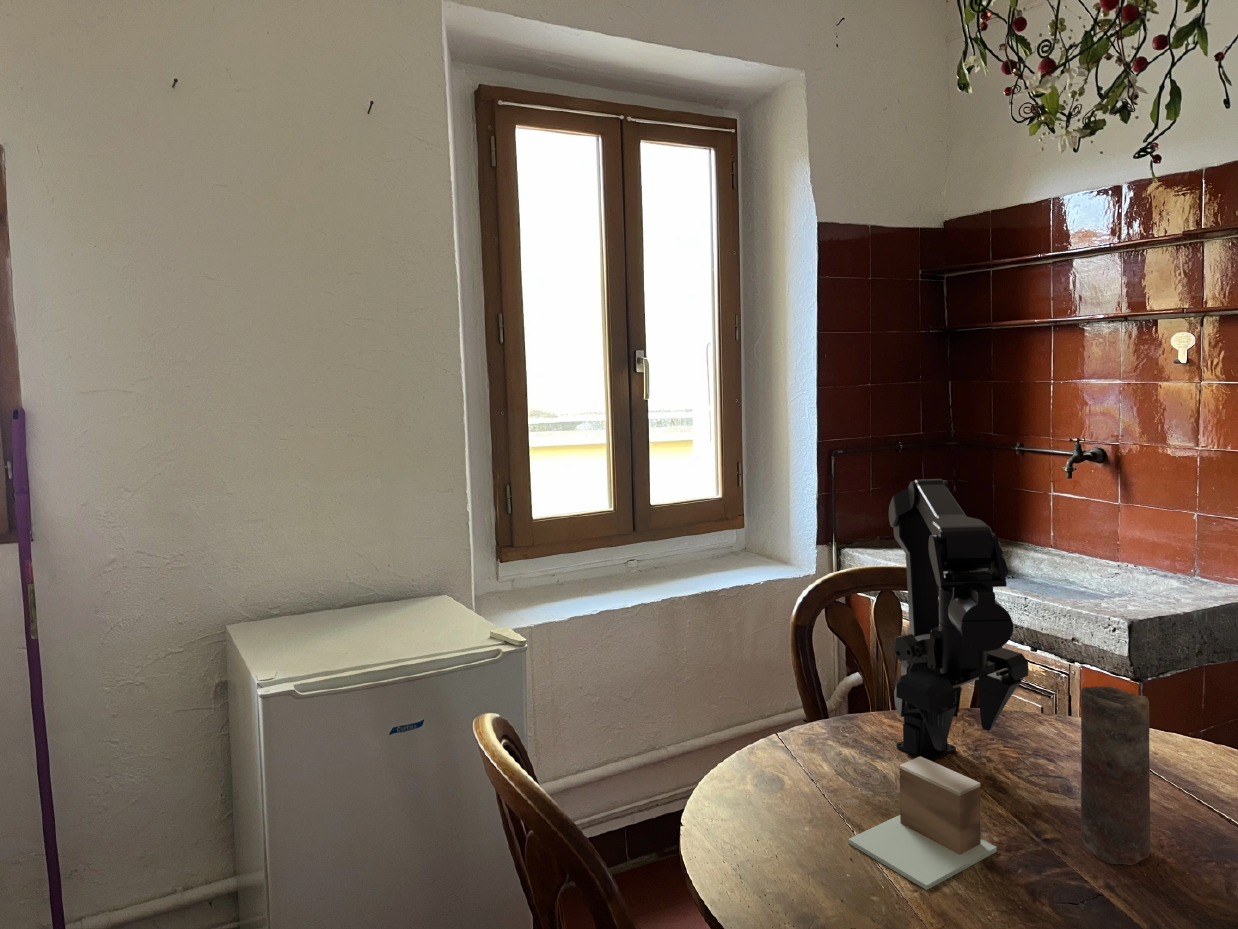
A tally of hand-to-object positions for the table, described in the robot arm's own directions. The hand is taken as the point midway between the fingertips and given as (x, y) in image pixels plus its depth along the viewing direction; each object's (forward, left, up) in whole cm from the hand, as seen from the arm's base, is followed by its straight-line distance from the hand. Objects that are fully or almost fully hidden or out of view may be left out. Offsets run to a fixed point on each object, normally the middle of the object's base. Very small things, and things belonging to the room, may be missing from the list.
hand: (963, 739), depth 111 cm
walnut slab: (+5, 0, -11) cm, 12 cm away
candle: (-9, +14, -12) cm, 21 cm away
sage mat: (+9, 0, -12) cm, 14 cm away
